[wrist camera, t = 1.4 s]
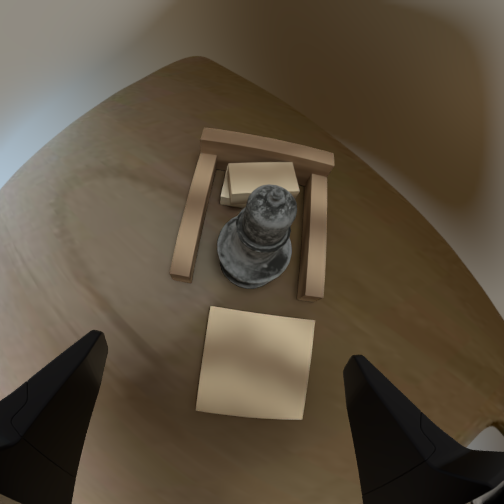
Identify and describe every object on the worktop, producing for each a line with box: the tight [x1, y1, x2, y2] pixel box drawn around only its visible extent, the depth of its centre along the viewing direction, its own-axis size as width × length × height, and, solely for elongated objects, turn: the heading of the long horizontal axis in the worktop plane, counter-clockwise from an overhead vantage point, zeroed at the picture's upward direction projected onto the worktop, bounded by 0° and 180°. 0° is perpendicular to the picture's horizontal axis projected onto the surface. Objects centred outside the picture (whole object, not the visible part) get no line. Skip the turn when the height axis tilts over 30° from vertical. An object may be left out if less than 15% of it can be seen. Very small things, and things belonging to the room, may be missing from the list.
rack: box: [170, 127, 334, 302], centre depth 24 cm, size 14×13×4 cm
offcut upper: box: [227, 162, 299, 205], centre depth 25 cm, size 3×6×2 cm, turn 98°
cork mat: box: [196, 306, 315, 420], centre depth 22 cm, size 9×9×1 cm
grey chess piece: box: [217, 184, 297, 289], centre depth 19 cm, size 6×6×12 cm
